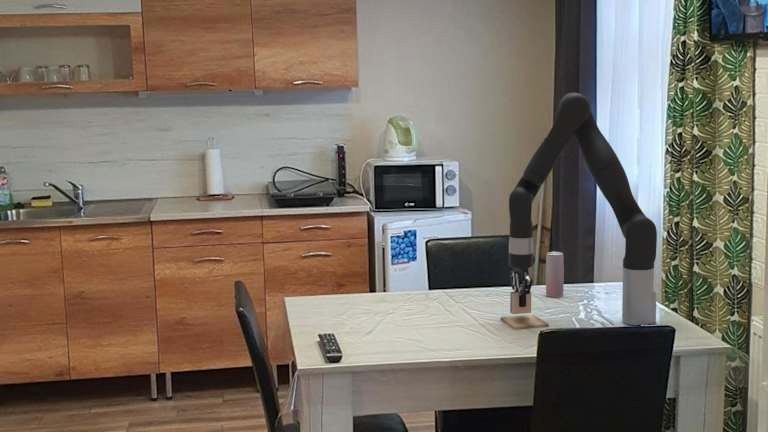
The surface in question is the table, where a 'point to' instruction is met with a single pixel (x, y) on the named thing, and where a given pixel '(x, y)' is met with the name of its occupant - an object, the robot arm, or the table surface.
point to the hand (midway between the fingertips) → (520, 305)
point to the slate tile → (515, 303)
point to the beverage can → (554, 274)
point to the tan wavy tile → (524, 321)
